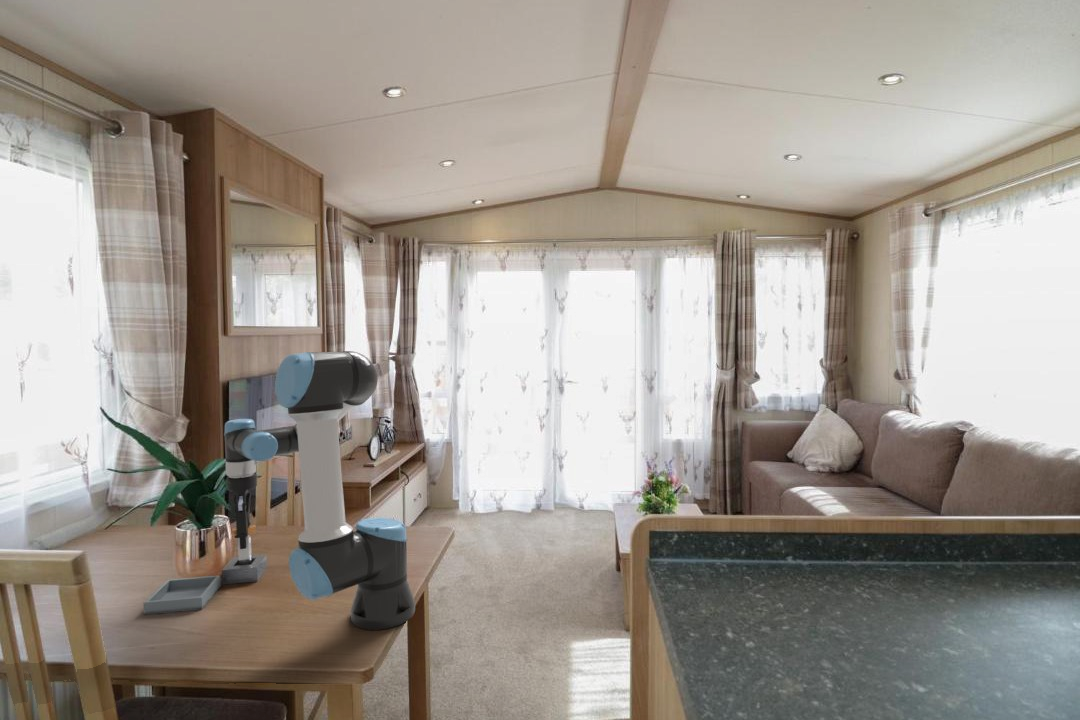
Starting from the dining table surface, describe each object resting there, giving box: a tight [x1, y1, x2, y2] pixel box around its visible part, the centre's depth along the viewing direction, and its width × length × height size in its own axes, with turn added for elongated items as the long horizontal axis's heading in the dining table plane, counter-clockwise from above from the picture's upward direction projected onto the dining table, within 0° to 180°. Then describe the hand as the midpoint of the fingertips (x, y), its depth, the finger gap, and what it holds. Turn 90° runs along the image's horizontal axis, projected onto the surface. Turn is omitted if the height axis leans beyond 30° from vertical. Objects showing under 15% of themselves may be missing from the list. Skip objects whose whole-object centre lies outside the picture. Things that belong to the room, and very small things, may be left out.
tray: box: [143, 574, 222, 615], centre depth 146 cm, size 13×13×3 cm
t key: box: [231, 524, 257, 566], centre depth 159 cm, size 6×3×14 cm, turn 120°
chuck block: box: [221, 554, 268, 585], centre depth 160 cm, size 9×9×4 cm
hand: (244, 556), depth 159 cm, fingers closed on t key, 3 cm apart
